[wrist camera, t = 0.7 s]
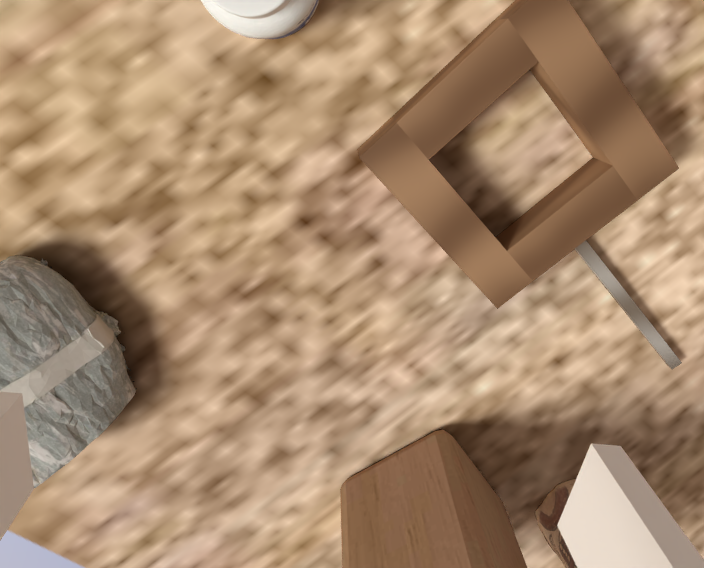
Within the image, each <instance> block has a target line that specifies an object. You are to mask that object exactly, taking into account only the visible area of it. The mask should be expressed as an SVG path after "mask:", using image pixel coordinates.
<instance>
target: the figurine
mask: <svg viewBox="0 0 704 568" xmlns="http://www.w3.org/2000/svg"><path fill="white" fill-rule="evenodd" d="M575 481H576V479H572V480H569V481H566V482H563V483H561V484H559V485H557V486H556V487H555V488H554V489H553V490H552V491H551V492H550V493H549V494H548V495H547V496H546V498H545V499H544V500H543V503H542V504H541V505H540V507H539V508H538V509H537V510H536V512H535V515H536V517H537V520H538V526H539V528H540V530H541V531H542V533H543V535H544V537H545V539H546V541H547V542H548V544H549V545H550V547H551V548H552V550H553V551H554V552H555V553H556V554H557V555H558V557H559V558H560V559H561V561H562V562H563V564H564V566H565V567H566V568H577V566H576V564H575V562H574V560H573V557H572V555H571V553H570V551H569V549H568V547H567V545H566V543H565V541H564V539H563V537H562V535H561V532H560V530H559V528H558V526H557V525H558V522H559V520H560V518H561V515H562V513H563V510H564V508H565V505H566V503H567V501H568V498H569V496H570V493H571V491H572V488H573V486H574V484H575Z"/></svg>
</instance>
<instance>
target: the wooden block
mask: <svg viewBox="0 0 704 568" xmlns="http://www.w3.org/2000/svg"><path fill="white" fill-rule="evenodd" d="M340 490H341V529H342V568H527V566H526V563H525V561H524V558H523V555H522V553H521V550H520V547H519V545H518V542H517V539H516V537H515V534H514V531H513V529H512V526H511V524H510V521H509V518H508V516H507V513H506V510H505V508H504V505H503V502H502V501H501V500H500V498H499V497H498V496H497V494H496V493H495V492H494V490H493V489H492V488H491V486H490V485H489V484H488V482H487V481H486V480H485V478H484V477H483V476H482V474H481V473H480V472H479V470H478V469H477V468H476V466H475V465H474V464H473V463H472V461H471V460H470V459H469V457H468V456H467V455H466V453H465V452H464V451H463V449H462V448H461V447H460V445H459V444H458V443H457V441H456V440H455V439H454V437H453V436H451V435H450V434H449V433H448V432H446V431H444V430H439V431H435V432H433V433H431V434H429V435H427V436H425V437H424V438H422V439H420V440H418V441H416V442H414V443H413V444H411V445H409V446H407V447H405V448H403V449H401V450H400V451H398V452H396V453H394V454H392V455H390V456H389V457H387V458H385V459H383V460H381V461H379V462H378V463H376V464H374V465H372V466H370V467H368V468H367V469H365V470H363V471H361V472H359V473H357V474H355V475H354V476H352V477H350V478H348V479H347V480H346V481H345V482H344V483H343V485H342V487H341V489H340Z"/></svg>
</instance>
